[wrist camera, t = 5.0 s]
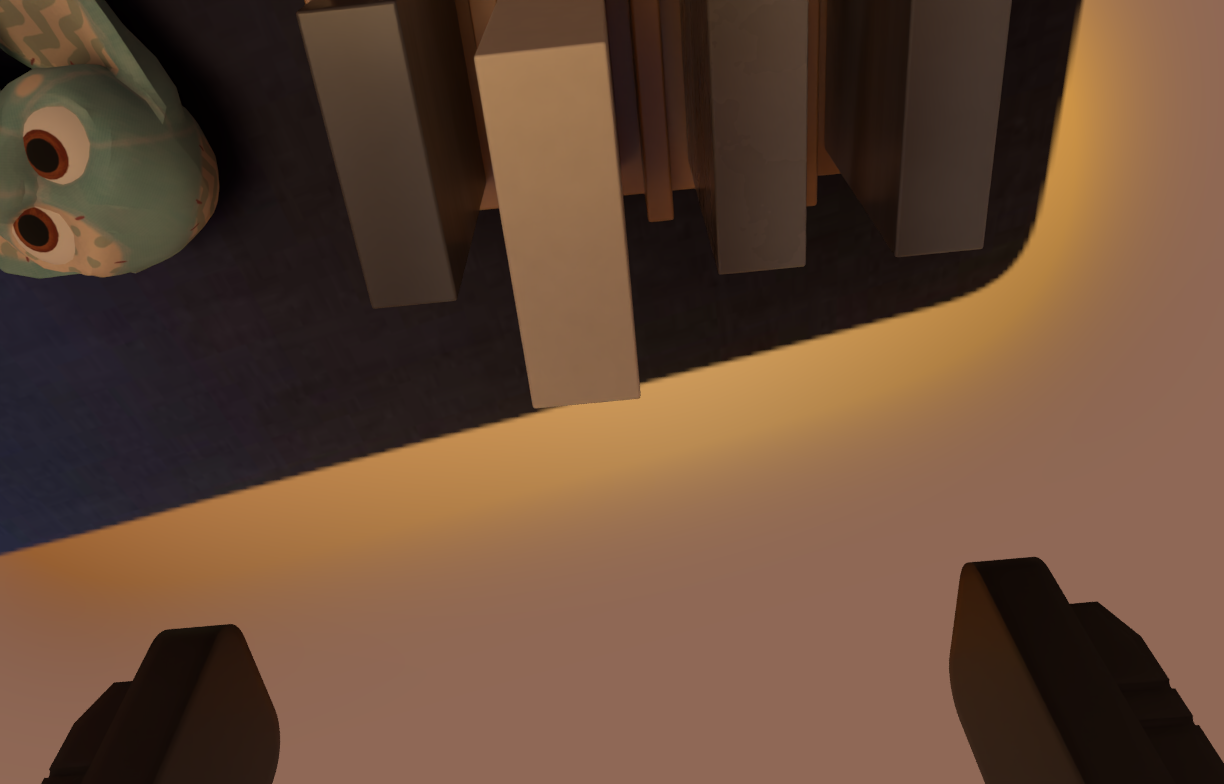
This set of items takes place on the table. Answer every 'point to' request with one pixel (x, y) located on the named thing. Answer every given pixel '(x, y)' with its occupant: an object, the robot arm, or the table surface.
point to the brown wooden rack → (674, 122)
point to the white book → (561, 196)
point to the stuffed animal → (94, 147)
